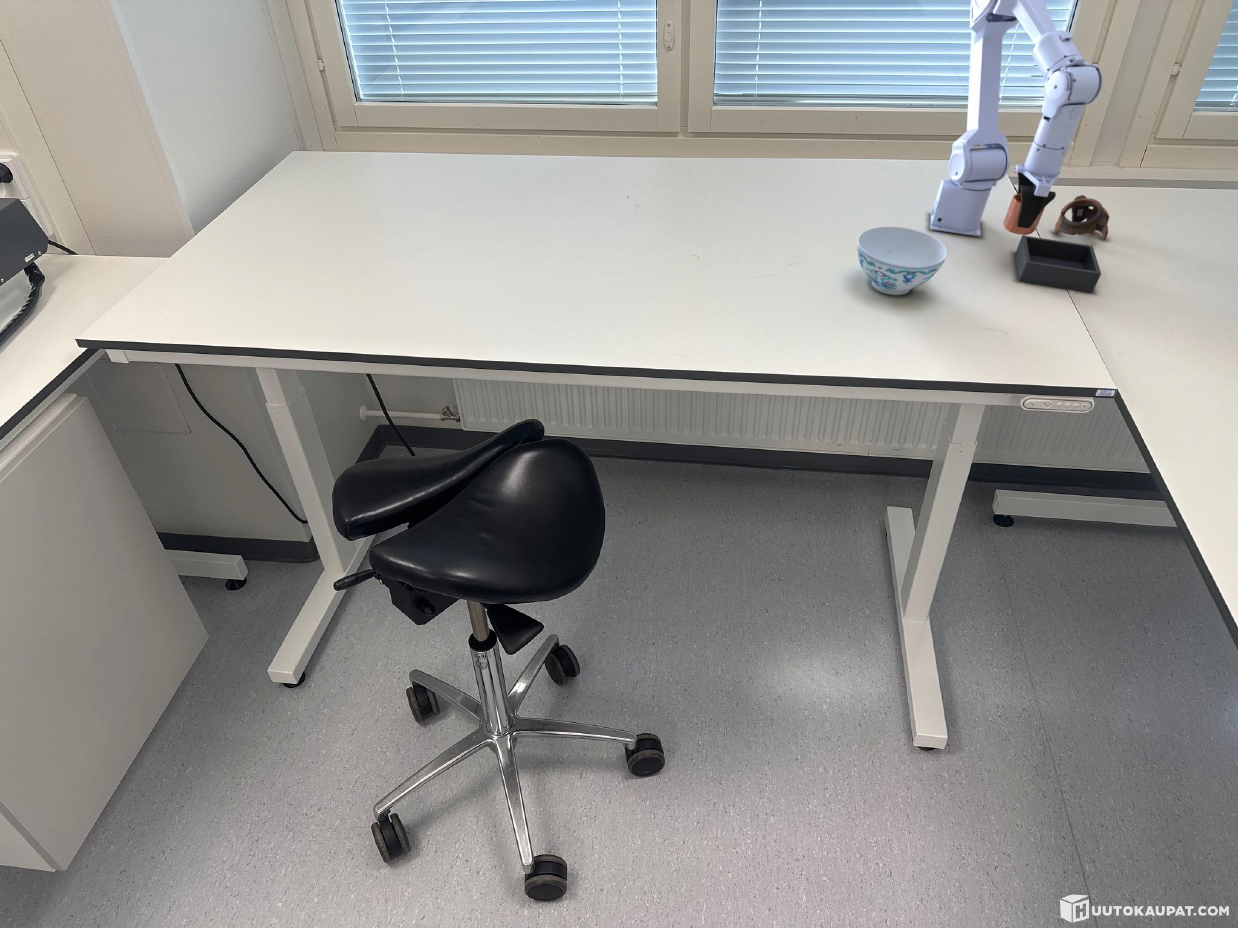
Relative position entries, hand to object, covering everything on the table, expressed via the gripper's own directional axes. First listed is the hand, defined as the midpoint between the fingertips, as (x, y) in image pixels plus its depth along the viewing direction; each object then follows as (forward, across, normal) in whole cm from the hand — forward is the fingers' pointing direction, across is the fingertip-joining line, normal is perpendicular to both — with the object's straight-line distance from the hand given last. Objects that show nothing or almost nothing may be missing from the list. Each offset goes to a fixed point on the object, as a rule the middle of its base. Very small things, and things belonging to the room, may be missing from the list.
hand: (1022, 219), depth 144 cm
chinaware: (+9, +16, -20) cm, 27 cm away
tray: (+9, 0, +8) cm, 12 cm away
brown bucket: (+2, 0, 0) cm, 2 cm away
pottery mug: (+9, -19, +15) cm, 26 cm away
